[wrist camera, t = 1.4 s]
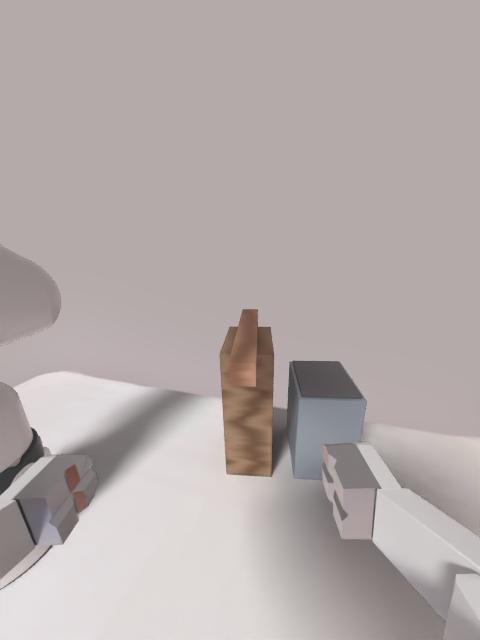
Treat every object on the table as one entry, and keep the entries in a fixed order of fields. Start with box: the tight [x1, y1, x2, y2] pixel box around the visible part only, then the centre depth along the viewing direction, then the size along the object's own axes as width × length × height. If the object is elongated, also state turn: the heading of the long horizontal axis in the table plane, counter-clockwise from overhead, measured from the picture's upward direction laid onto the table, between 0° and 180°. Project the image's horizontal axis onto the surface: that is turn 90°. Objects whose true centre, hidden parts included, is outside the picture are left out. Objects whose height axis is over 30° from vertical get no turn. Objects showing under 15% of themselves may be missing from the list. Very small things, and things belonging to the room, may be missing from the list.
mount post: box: [220, 327, 274, 477], centre depth 43 cm, size 8×12×24 cm, turn 175°
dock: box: [287, 361, 367, 480], centre depth 43 cm, size 10×12×17 cm
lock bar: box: [229, 309, 258, 387], centre depth 36 cm, size 3×22×3 cm, turn 175°
